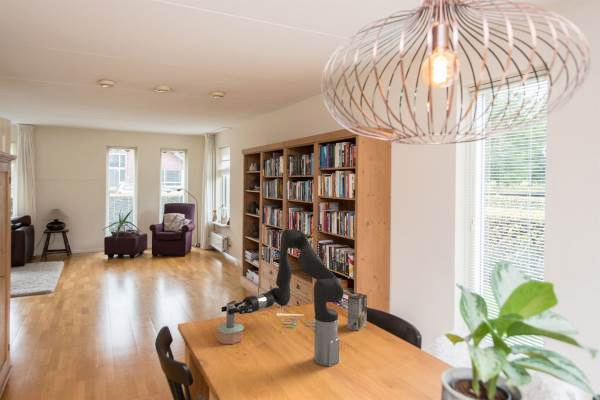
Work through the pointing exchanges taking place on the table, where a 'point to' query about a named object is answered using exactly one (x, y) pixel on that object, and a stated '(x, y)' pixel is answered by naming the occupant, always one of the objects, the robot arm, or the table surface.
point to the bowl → (229, 338)
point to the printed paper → (293, 318)
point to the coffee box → (357, 311)
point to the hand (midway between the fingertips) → (225, 310)
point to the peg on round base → (230, 323)
